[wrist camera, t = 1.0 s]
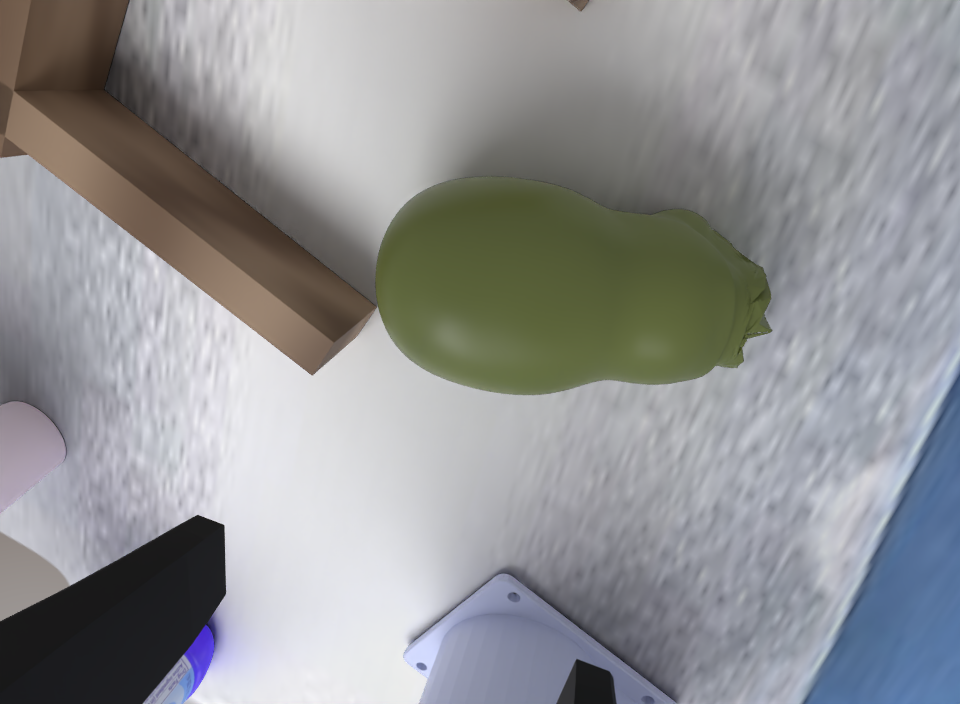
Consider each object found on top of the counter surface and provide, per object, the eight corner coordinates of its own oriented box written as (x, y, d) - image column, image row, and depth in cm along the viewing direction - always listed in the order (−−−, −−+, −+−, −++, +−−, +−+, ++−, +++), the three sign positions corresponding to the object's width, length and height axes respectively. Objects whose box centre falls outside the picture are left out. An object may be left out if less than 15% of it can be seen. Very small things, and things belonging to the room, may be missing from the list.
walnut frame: (645, -82, 13) (645, -123, 10) (346, 351, 20) (302, 391, 18) (194, -484, 12) (69, -640, 9) (51, 119, 19) (-42, 124, 17)
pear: (347, 180, 12) (843, 233, 11) (403, 151, 16) (752, 187, 16) (351, 410, 14) (757, 461, 14) (398, 326, 19) (700, 362, 18)
